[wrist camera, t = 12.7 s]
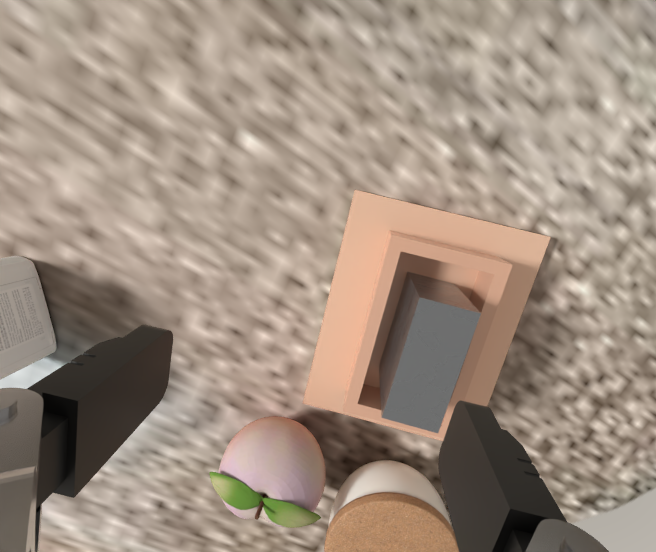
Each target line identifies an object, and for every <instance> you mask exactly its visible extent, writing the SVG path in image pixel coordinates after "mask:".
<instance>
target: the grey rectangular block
mask: <svg viewBox="0 0 656 552" xmlns="http://www.w3.org/2000/svg"><path fill="white" fill-rule="evenodd" d="M480 315H481V313H480V312H479V310H478V309H477V308H476V307H475V306H474V305H473V304H472V303H471V302H470V301H469V299H468V298H467V297H466V296H465V295H464V294H463V293H462V292H461V291H460V289H459V288H458V287H457V286H456V285H455V284H454V283H450V282H446V281H442V280H438V279H435V278H431V277H427V276H423V275H419V274H415V273H411V272H408V271H407V275H406V278H405V281H404V285H403V288H402V291H401V295H400V298H399V301H398V305H397V308H396V311H395V315H394V318H393V321H392V325H391V328H390V331H389V334H388V338H387V341H386V344H385V348H384V351H383V354H382V358H381V361H380V364H379V379H380V397H381V415H382V418H384V419H388V420H391V421H395V422H399V423H402V424H406V425H409V426H413V427H417V428H420V429H424V430H427V431H431V432H435V433H438V432H439V430H440V427H441V424H442V421H443V418H444V416H445V413H446V410H447V407H448V404H449V402H450V399H451V396H452V393H453V391H454V388H455V385H456V382H457V379H458V377H459V374H460V371H461V368H462V365H463V363H464V360H465V357H466V354H467V351H468V349H469V346H470V343H471V340H472V337H473V335H474V332H475V329H476V326H477V324H478V321H479V318H480Z"/></svg>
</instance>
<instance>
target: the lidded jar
mask: <svg viewBox="0 0 656 552" xmlns="http://www.w3.org/2000/svg"><path fill="white" fill-rule="evenodd" d="M324 551H325V552H459V549H458V545H457V541H456V537H455V533H454V531H453V528H452V525H451V521H450V518H449V515H448V513H447V510H446V508H445V505H444V503H443V501H442V499H441V497H440V496H439V494H438V492H437V490H436V489H435V487H434V486H433V485H432V484H431V483H430V481H429V480H428V479H427V478H426V477H425V476H424V475H423V474H421V473H420V472H419V471H417V470H416V469H414V468H412V467H411V466H408V465H406V464H404V463H401V462H397V461H392V460H379V461H375V462H371V463H368V464H365V465H363V466H361V467H360V468H358V469H357V470H355V471H354V472H353V473H352V474H350V475H349V477H348V478H347V479H346V480H345V481H344V483H343V484H342V486H341V488H340V489H339V491H338V493H337V496H336V498H335V501H334V504H333V507H332V510H331V515H330V520H329V527H328V530H327V533H326V540H325V548H324Z"/></svg>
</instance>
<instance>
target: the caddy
mask: <svg viewBox="0 0 656 552" xmlns="http://www.w3.org/2000/svg"><path fill="white" fill-rule="evenodd" d="M550 238H551V237H549V236H545V235H541V234H536V233H532V232H528V231H524V230H520V229H516V228H512V227H508V226H503V225H499V224H495V223H491V222H487V221H483V220H479V219H474V218H470V217H466V216H462V215H458V214H454V213H450V212H446V211H441V210H437V209H433V208H429V207H425V206H421V205H417V204H412V203H408V202H404V201H400V200H396V199H392V198H388V197H384V196H379V195H375V194H371V193H367V192H363V191H359V190H355V192H354V196H353V200H352V204H351V208H350V212H349V216H348V220H347V224H346V228H345V232H344V236H343V240H342V245H341V249H340V253H339V257H338V261H337V265H336V269H335V273H334V277H333V281H332V285H331V289H330V294H329V298H328V302H327V306H326V310H325V314H324V318H323V322H322V326H321V330H320V334H319V338H318V342H317V347H316V351H315V355H314V359H313V363H312V367H311V371H310V375H309V379H308V383H307V387H306V391H305V396H304V400H303V403H304V404H307V405H311V406H315V407H318V408H322V409H326V410H330V411H333V412H337V413H341V414H344V415H348V416H352V417H355V418H359V419H363V420H367V421H370V422H374V423H378V424H381V425H385V426H389V427H393V428H396V429H400V430H404V431H407V432H411V433H415V434H418V435H422V436H426V437H430V438H433V439H437V440H441V441H443V440H444V437H445V434H446V431H447V428H448V425H449V422H450V419H451V416H452V414H453V411H454V408H455V406H456V404H457V402H458V401H460V400H462V401H466V402H470V403H474V404H478V405H483V406H488V403H489V401H490V398H491V395H492V393H493V390H494V387H495V385H496V382H497V379H498V377H499V374H500V371H501V369H502V366H503V363H504V361H505V358H506V355H507V353H508V350H509V347H510V345H511V342H512V339H513V337H514V334H515V331H516V329H517V326H518V323H519V321H520V318H521V315H522V313H523V310H524V307H525V305H526V302H527V299H528V297H529V294H530V291H531V289H532V286H533V283H534V281H535V278H536V275H537V273H538V270H539V267H540V265H541V262H542V259H543V256H544V254H545V251H546V248H547V246H548V243H549V240H550ZM407 271H408V272H411V273H415V274H419V275H423V276H427V277H431V278H435V279H438V280H442V281H446V282H450V283H454V284H455V285H456V286H457V287H458V288H459V289H460V291H461V292H462V293H463V294H464V295H465V296H466V297H467V298H468V299H469V301H470V302H471V303H472V304H473V305H474V306H475V307H476V308H477V309H478V310H479V312H480V313H481V315H480V318H479V321H478V324H477V326H476V329H475V332H474V335H473V337H472V340H471V343H470V346H469V349H468V351H467V354H466V357H465V360H464V363H463V365H462V368H461V371H460V374H459V377H458V379H457V382H456V385H455V388H454V391H453V393H452V396H451V399H450V402H449V404H448V407H447V410H446V413H445V416H444V418H443V421H442V424H441V427H440V430H439V432H438V433H435V432H431V431H427V430H424V429H420V428H417V427H413V426H409V425H406V424H402V423H399V422H395V421H391V420H388V419H384V418H382V415H381V397H380V379H379V364H380V361H381V358H382V354H383V351H384V348H385V344H386V341H387V338H388V334H389V331H390V328H391V325H392V321H393V318H394V315H395V311H396V308H397V305H398V301H399V298H400V295H401V291H402V288H403V285H404V281H405V278H406V275H407Z"/></svg>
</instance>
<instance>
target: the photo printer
mask: <svg viewBox="0 0 656 552" xmlns="http://www.w3.org/2000/svg"><path fill="white" fill-rule="evenodd" d="M55 351H56V339H55V334H54V331H53V327H52V323H51V319H50V315H49V312H48V308H47V304H46V301H45V297H44V294H43V290H42V286H41V283H40V280H39V276H38V273H37V271H36V268H35V266H34V264H33V262H32V261H31V260H28V259H27V258H24V257H21V256H12V257H6V258H0V379H2V378H4V377H6V376H8V375H10V374H12V373H14V372H16V371H18V370H20V369H22V368H24V367H26V366H28V365H30V364H32V363H34V362H36V361H38V360H40V359H42V358H44V357H46V356H48V355H50V354H52V353H53V352H55Z"/></svg>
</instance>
